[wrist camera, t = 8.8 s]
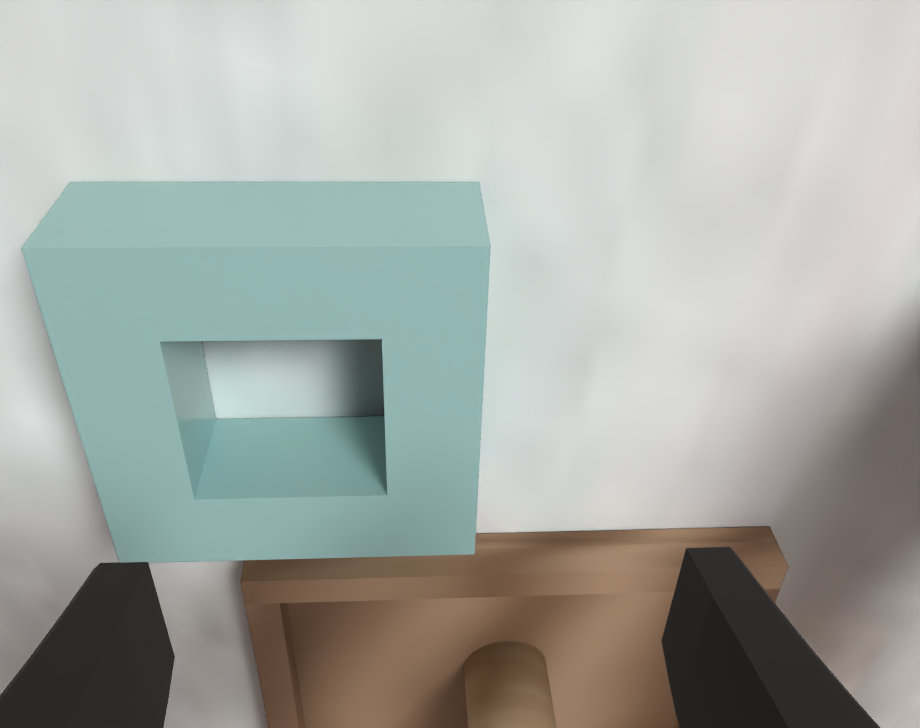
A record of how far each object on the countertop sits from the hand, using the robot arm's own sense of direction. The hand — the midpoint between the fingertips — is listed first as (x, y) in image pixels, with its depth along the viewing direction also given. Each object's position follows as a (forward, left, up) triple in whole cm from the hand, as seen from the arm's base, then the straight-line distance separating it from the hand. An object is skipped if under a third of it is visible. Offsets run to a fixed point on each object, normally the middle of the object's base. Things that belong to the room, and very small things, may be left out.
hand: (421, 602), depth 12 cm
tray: (-3, +16, -10) cm, 19 cm away
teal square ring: (+3, +3, -10) cm, 11 cm away
